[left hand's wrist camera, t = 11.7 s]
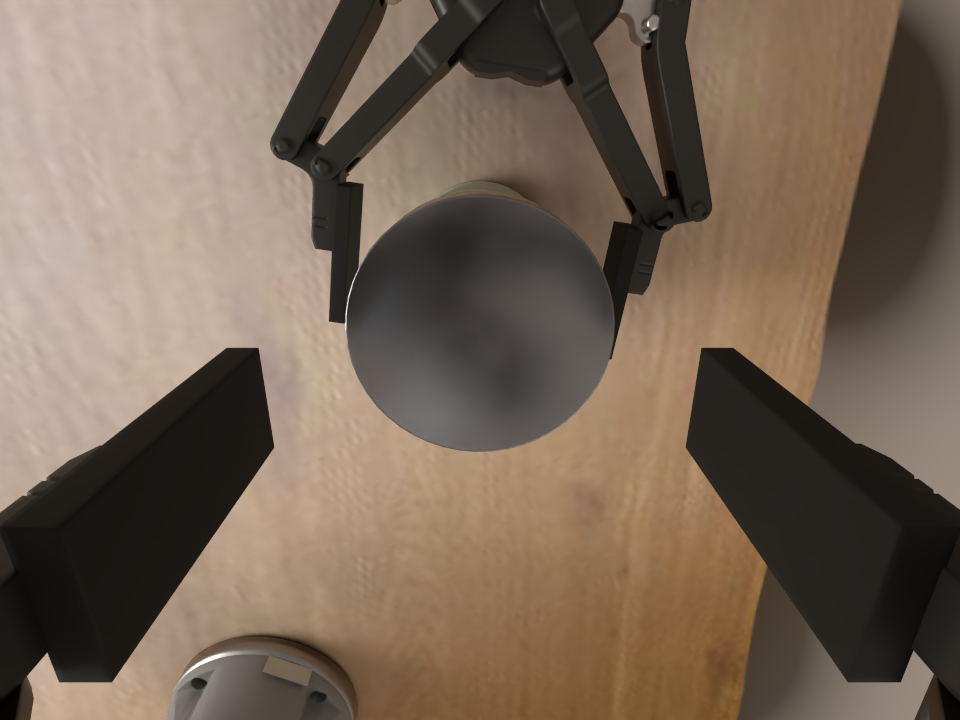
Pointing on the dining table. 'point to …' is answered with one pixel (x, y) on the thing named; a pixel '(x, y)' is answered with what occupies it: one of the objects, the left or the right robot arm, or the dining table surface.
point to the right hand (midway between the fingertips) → (472, 333)
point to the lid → (480, 322)
